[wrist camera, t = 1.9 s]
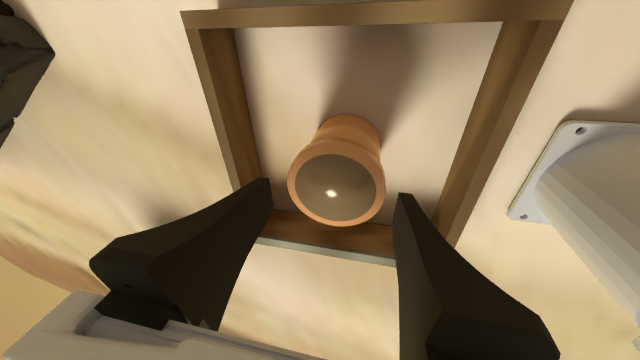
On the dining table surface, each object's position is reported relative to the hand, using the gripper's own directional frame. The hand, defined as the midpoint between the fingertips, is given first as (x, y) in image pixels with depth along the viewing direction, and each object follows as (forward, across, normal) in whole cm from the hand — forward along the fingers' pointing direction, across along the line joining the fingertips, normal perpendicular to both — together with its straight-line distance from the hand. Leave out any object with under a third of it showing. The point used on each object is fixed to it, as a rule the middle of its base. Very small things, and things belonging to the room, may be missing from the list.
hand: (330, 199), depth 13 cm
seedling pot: (+7, 0, 0) cm, 7 cm away
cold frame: (+7, 0, 0) cm, 7 cm away
